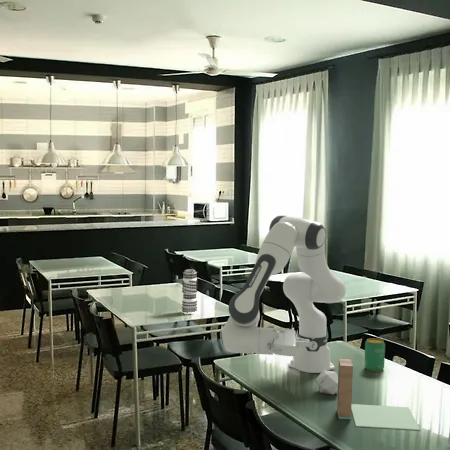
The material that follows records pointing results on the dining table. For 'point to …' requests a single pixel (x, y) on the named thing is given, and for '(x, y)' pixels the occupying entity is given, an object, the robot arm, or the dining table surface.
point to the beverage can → (374, 354)
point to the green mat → (383, 417)
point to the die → (327, 382)
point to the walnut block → (344, 388)
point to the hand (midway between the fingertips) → (309, 343)
